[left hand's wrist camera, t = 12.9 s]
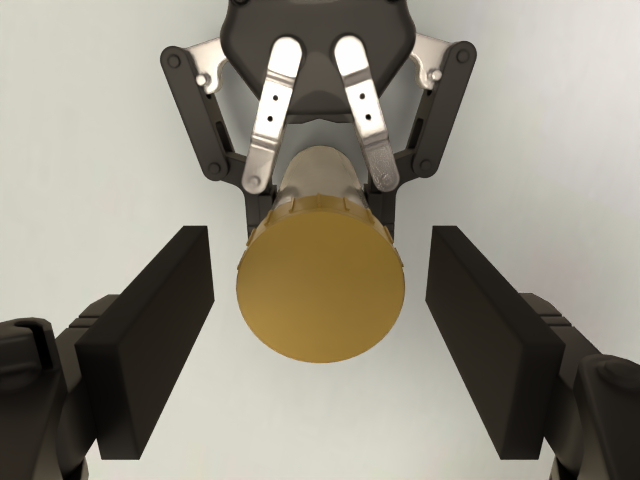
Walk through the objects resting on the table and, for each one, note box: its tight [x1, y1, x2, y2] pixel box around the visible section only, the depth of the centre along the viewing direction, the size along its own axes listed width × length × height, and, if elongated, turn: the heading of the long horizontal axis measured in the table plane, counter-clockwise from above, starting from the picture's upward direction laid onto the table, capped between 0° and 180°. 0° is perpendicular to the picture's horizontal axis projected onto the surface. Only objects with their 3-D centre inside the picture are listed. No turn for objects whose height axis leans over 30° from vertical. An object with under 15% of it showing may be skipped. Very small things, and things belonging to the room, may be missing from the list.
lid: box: [236, 193, 405, 363], centre depth 14 cm, size 5×5×2 cm
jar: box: [271, 146, 370, 211], centre depth 20 cm, size 5×5×15 cm
